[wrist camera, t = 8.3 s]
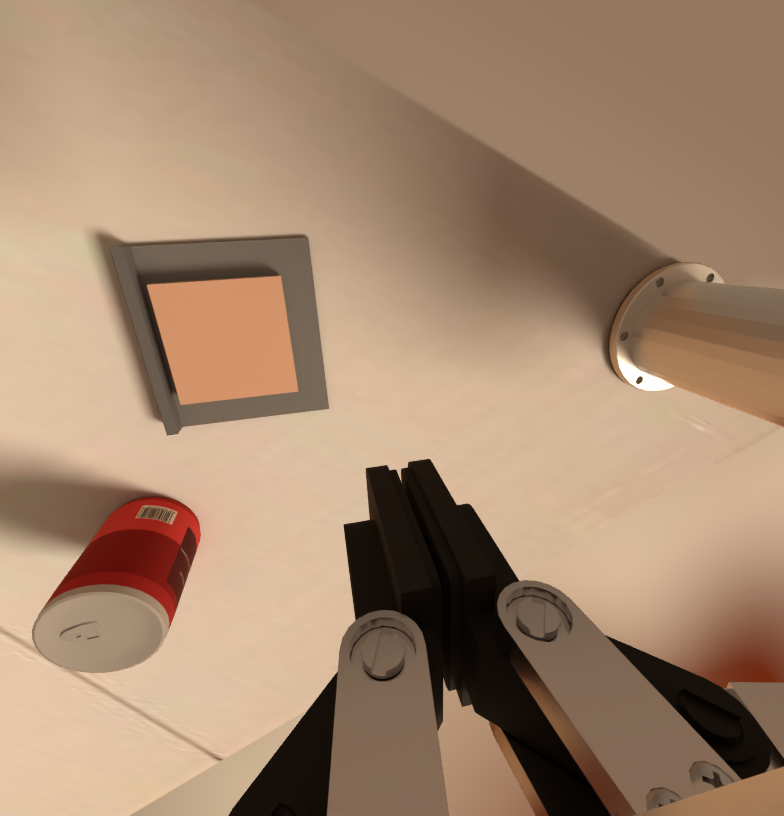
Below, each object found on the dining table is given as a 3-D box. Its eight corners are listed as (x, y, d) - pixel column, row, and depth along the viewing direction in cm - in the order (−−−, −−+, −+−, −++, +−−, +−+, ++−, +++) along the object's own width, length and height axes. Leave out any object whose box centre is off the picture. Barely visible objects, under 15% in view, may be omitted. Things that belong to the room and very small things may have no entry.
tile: (280, 276, 29) (146, 284, 27) (298, 391, 32) (180, 405, 31) (281, 274, 30) (154, 282, 28) (298, 385, 34) (186, 397, 32)
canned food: (88, 513, 34) (1, 622, 24) (176, 480, 35) (126, 574, 25) (137, 573, 38) (78, 690, 28) (217, 542, 38) (187, 646, 28)
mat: (308, 237, 30) (308, 237, 28) (328, 407, 35) (329, 414, 34) (120, 246, 28) (109, 246, 26) (173, 426, 33) (167, 435, 31)
